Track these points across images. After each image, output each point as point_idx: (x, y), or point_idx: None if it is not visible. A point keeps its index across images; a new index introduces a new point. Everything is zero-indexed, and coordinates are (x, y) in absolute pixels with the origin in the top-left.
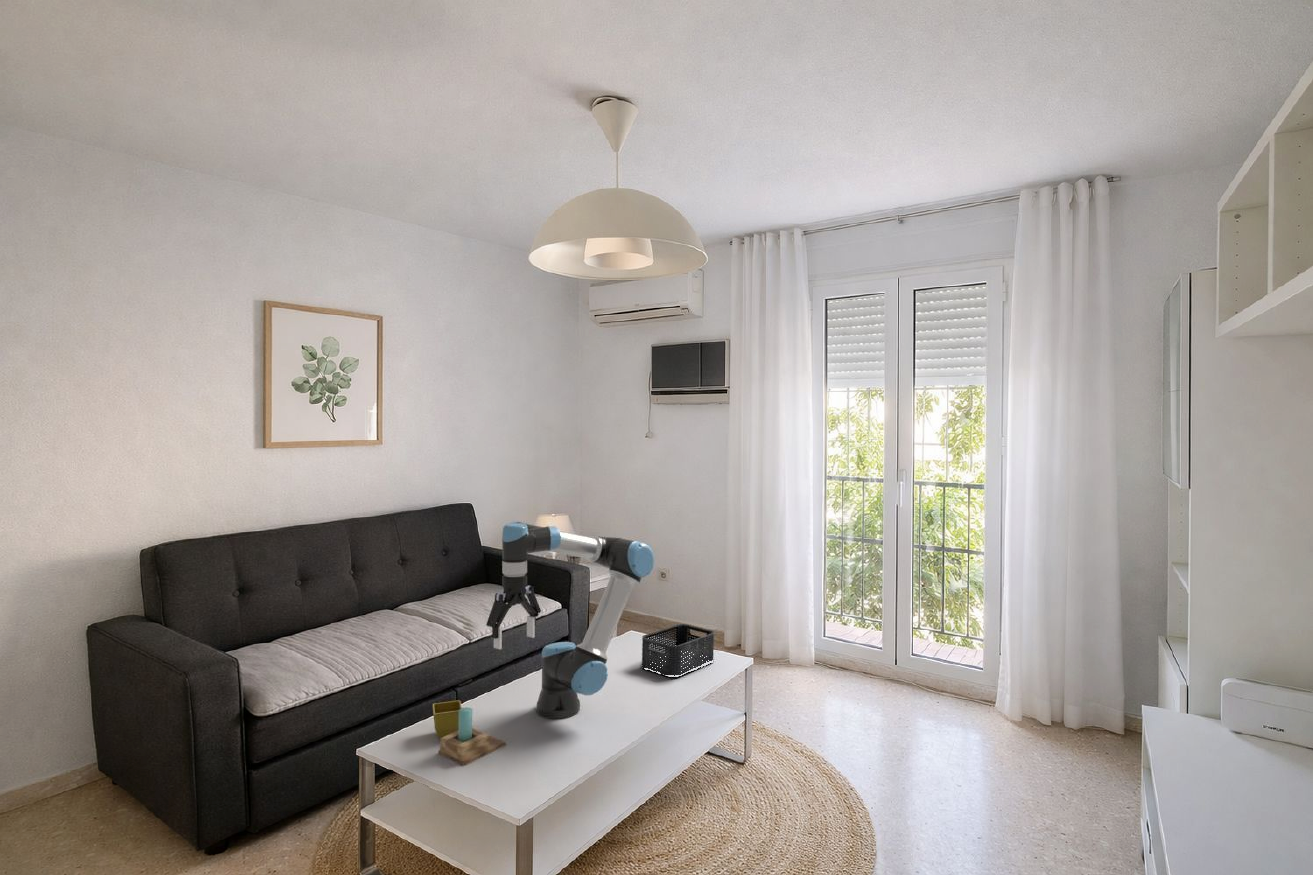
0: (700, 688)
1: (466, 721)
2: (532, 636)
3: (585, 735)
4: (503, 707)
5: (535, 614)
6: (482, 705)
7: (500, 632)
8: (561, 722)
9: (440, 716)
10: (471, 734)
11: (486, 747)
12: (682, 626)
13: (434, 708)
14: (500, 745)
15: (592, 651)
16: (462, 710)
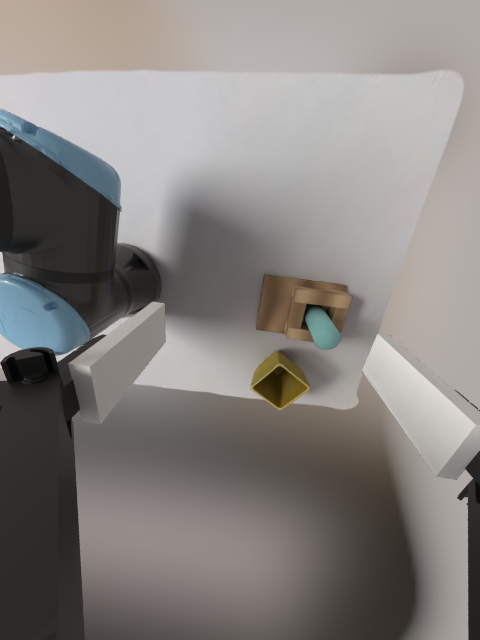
0: None
1: (331, 322)
2: (162, 307)
3: (167, 172)
4: (173, 352)
5: (38, 374)
6: (186, 378)
7: (454, 395)
8: (156, 245)
9: (303, 379)
10: (314, 310)
11: (298, 285)
12: None
13: (280, 402)
14: (275, 276)
15: None
16: (331, 342)
